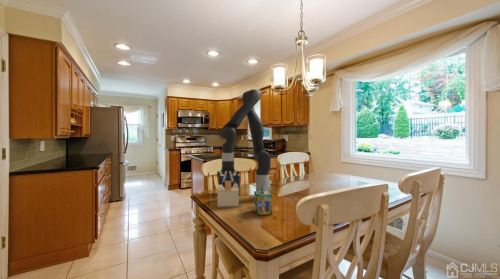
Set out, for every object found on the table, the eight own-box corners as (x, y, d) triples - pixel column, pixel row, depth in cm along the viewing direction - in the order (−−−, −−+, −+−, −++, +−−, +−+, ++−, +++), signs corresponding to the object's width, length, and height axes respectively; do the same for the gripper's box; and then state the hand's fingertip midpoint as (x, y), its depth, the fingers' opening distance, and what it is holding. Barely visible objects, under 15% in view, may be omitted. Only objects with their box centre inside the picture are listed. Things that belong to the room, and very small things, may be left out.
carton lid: (237, 185, 147) (237, 176, 147) (238, 191, 133) (238, 181, 133) (218, 185, 146) (218, 176, 146) (217, 191, 131) (217, 181, 131)
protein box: (218, 192, 164) (218, 172, 164) (239, 192, 166) (239, 172, 165) (218, 197, 154) (218, 175, 153) (239, 196, 155) (240, 175, 155)
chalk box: (272, 214, 121) (272, 188, 121) (256, 215, 120) (256, 189, 119) (268, 208, 130) (268, 184, 130) (253, 209, 129) (253, 185, 128)
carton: (237, 199, 148) (237, 184, 148) (238, 206, 134) (238, 191, 133) (218, 199, 147) (218, 185, 147) (217, 207, 132) (217, 191, 132)
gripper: (239, 158, 137) (239, 185, 138) (216, 159, 136) (216, 186, 136) (239, 160, 130) (239, 188, 130) (216, 160, 128) (216, 189, 129)
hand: (228, 187), depth 133 cm, fingers closed on carton lid, 4 cm apart
